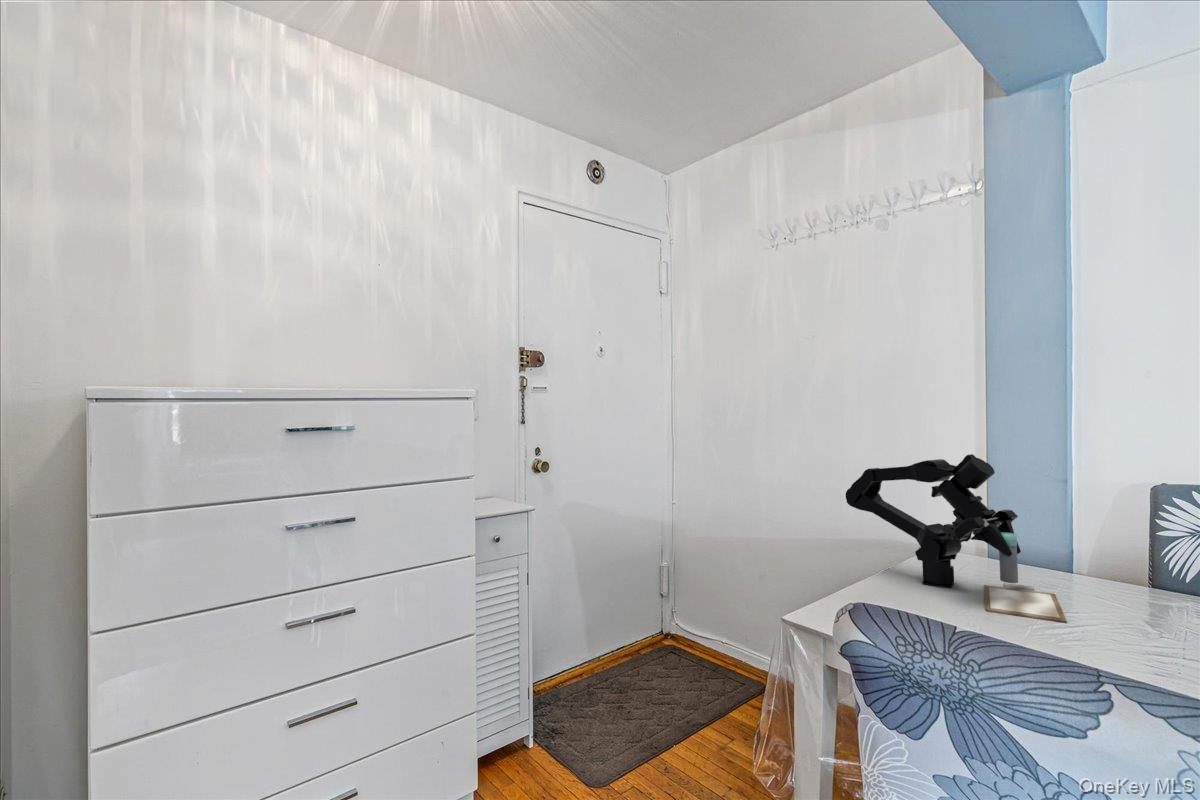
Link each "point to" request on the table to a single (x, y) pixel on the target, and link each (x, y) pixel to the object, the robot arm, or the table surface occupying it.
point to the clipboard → (1023, 602)
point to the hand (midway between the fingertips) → (1014, 554)
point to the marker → (1009, 560)
